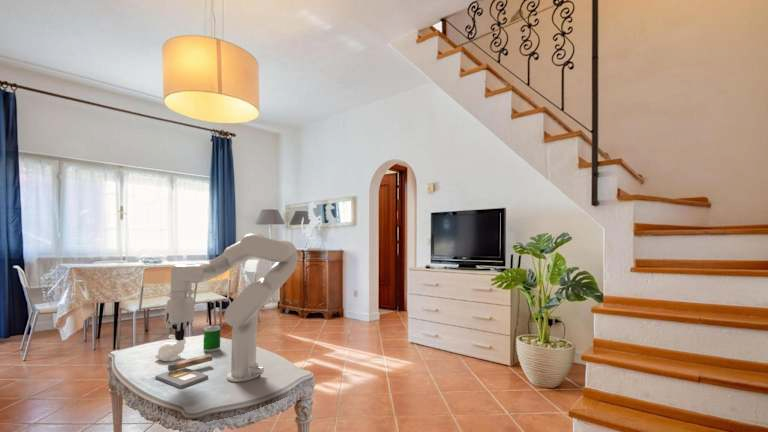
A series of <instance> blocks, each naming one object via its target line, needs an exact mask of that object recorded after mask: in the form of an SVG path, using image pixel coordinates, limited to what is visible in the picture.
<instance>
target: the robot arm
mask: <svg viewBox="0 0 768 432" xmlns="http://www.w3.org/2000/svg"><path fill="white" fill-rule="evenodd" d="M223 250H224V251H223V252H222V253H221V254H220V255H219V256H216V257H215V258H213V259H211V260H208V261H206V262H202V263H199V264H192V265H191V264H189V263H188V264H186V263H185V264H184V263H183V264H181V263H179V264H174V265H172V266H171V268H170V269H171V270H170V295H169V297H170V298H168V299H167V301H166V306H165V311H164V324H165V328H168V329H169V328H170V329H173V330H174V335H175V339H176V340H175V341H177V340H179V341H180V340H184V337H185V330H186V329H187V327H188V325H191V324H192V323H193V322H194V319H195V303H194V302H195V301H194V298H193V296H192V294H195V290H194V289H192V287H193V286H192V285H193V284H199V283H204V282H207V281H210V280H212V279H214V278H217V277H219V276H220V275H222V274H224V273H226V272H228V271H229V270H232V269H233V268H235V267H237V266H239V265H241V264H243V263H244V262H246V261H248V260H250V259H253V258H254V257H255V258H258V259H263V260H266V261H270V262H274V264H273V265H272V266H271V267H270V268H269V269H268V270H267V271H266V272H265V273H264V274H263V275H262V276H261V277H260V278H259V279H258V280H256V281H253V282H252V283H249V285H247V286H246V287H245V288H244V289H243V290H242V291H241V293H239V294H238V295H237V296H236V298H235V299H234V300H232V301H231V303H230V304H229V305H228V306H227V307H226V309H225V311H224V314H223V315H224V321H225V323H226V324H227V325H228V326H230V327H232V332H231V357H230V359H231V360H230V361H231V364H230V365H231V366H230V371H229V372H228V373H227V375H226V379H227V380H228V381H229V382H235V383H239V382H240V383H241V382H248V381H251V380H254V379H256V378H257V377H259V376H260V375H263V374H264V371H265V367H264V366H263V367H262V366H260V365H259V363H258V362H257V332H258V330H257V329H258V320H259V312H260V311H259V310H260V309H261V308H262V307H263V305H265V304H266V303H268V302H269V301H270V300H271V299H272V298H273V296H274V295H275V293H277V291H279V289H281V287H282V286H283V285H284V284H285V282H286V281H287V280H288V279H289V278H290V277H291V276H292V274H294V271H296V268H297V265H298V260H299V255H298V251H297V248H296V246H295V245H294V244H293V242H290V241H288V240H276V239H273V238H272V239H271V238H268V237H265V236H264V235H263V234H261V233H248V234H246V235H244V236H243V237H242V238H241V239H240V241H237V242H236V243H233V244H232V245H230V246H227V247H226V248H225V249H223Z"/></svg>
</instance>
